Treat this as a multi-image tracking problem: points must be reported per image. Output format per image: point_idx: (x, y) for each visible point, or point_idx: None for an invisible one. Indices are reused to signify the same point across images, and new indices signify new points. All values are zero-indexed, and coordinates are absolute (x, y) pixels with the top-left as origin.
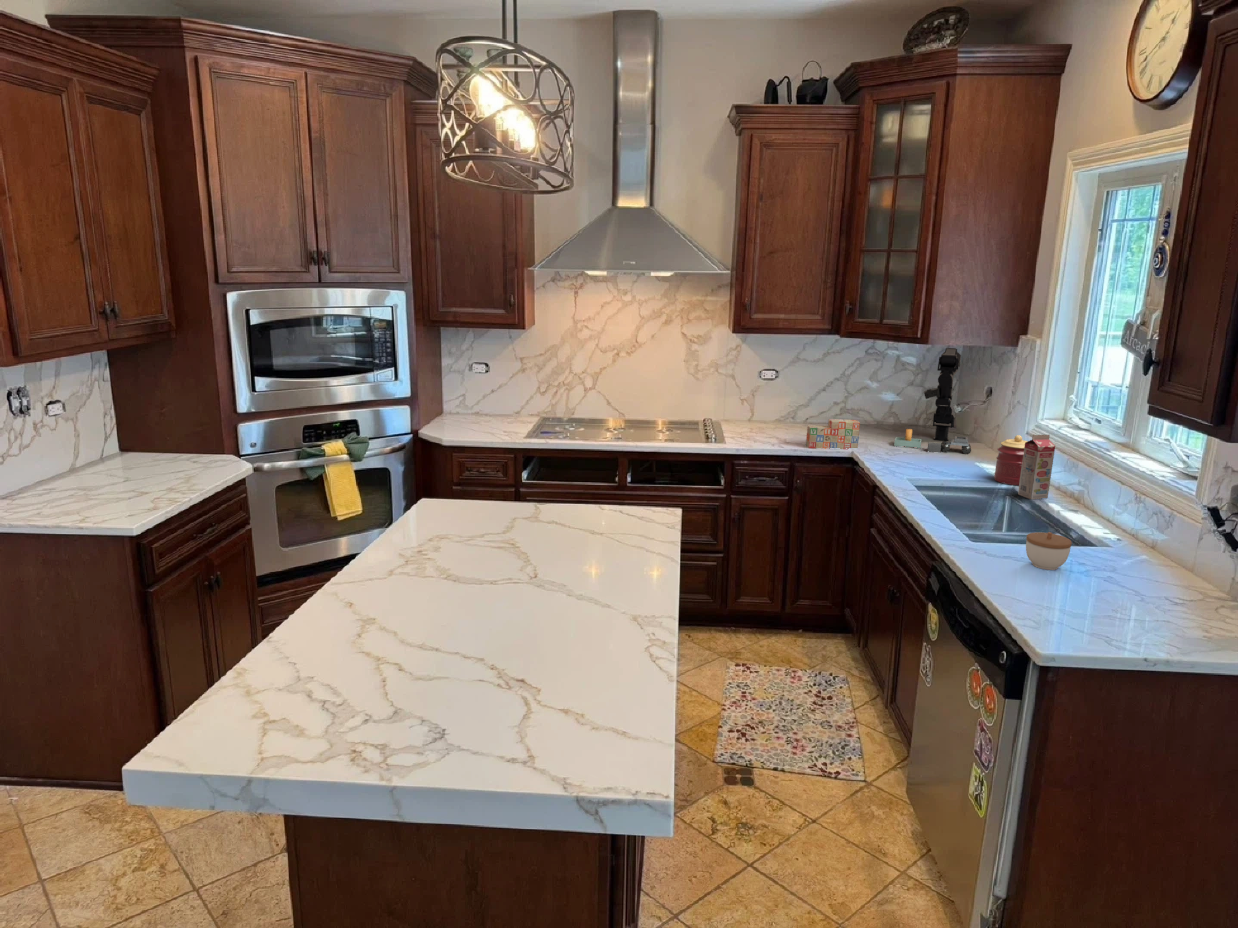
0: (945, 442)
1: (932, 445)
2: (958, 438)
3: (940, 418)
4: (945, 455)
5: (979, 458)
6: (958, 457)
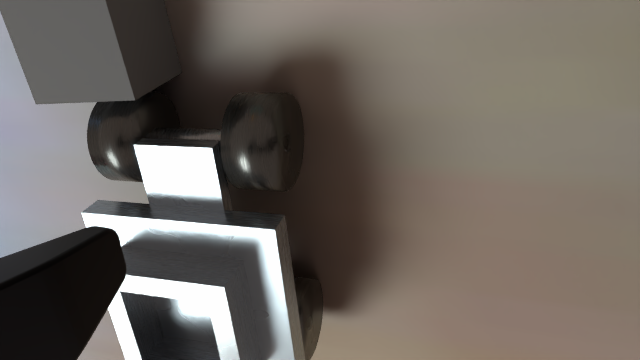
0: (176, 156)
1: (7, 11)
2: (122, 304)
3: (59, 248)
4: (30, 121)
5: (108, 335)
6: (37, 211)
